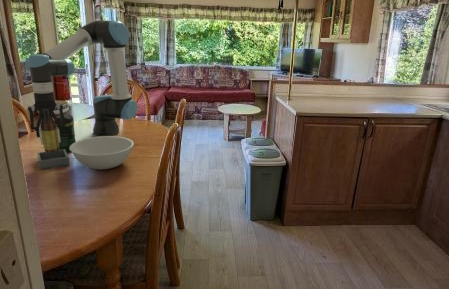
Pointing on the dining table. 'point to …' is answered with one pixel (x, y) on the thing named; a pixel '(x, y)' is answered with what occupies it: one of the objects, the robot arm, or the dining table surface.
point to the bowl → (102, 151)
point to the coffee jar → (67, 133)
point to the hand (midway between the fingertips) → (50, 142)
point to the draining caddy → (53, 159)
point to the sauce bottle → (49, 132)
